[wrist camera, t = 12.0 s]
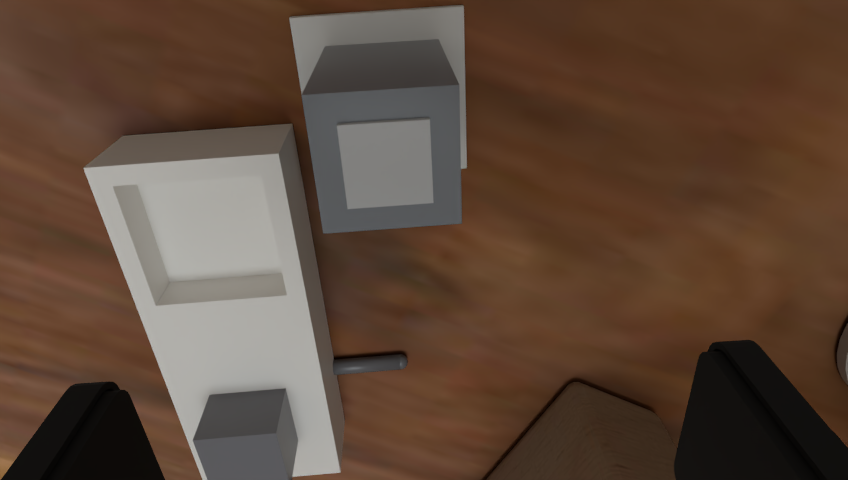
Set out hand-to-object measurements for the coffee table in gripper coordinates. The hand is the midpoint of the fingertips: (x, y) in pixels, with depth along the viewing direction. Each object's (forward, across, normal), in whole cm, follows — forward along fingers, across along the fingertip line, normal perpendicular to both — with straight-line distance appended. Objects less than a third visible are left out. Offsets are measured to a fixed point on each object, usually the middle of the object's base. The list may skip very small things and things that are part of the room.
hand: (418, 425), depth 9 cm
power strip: (+20, +7, +10) cm, 23 cm away
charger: (+19, +1, 0) cm, 19 cm away
